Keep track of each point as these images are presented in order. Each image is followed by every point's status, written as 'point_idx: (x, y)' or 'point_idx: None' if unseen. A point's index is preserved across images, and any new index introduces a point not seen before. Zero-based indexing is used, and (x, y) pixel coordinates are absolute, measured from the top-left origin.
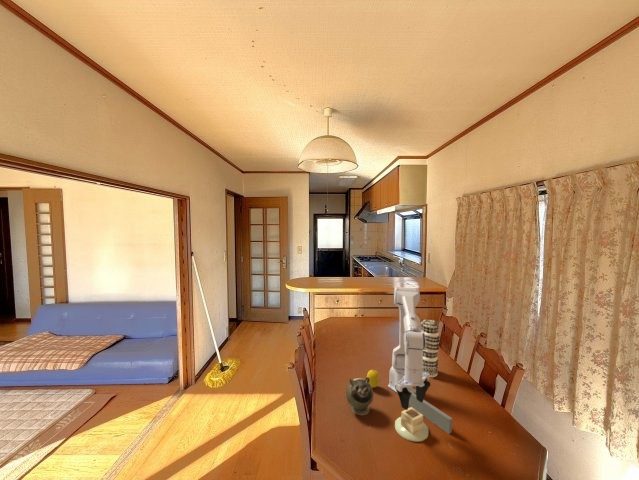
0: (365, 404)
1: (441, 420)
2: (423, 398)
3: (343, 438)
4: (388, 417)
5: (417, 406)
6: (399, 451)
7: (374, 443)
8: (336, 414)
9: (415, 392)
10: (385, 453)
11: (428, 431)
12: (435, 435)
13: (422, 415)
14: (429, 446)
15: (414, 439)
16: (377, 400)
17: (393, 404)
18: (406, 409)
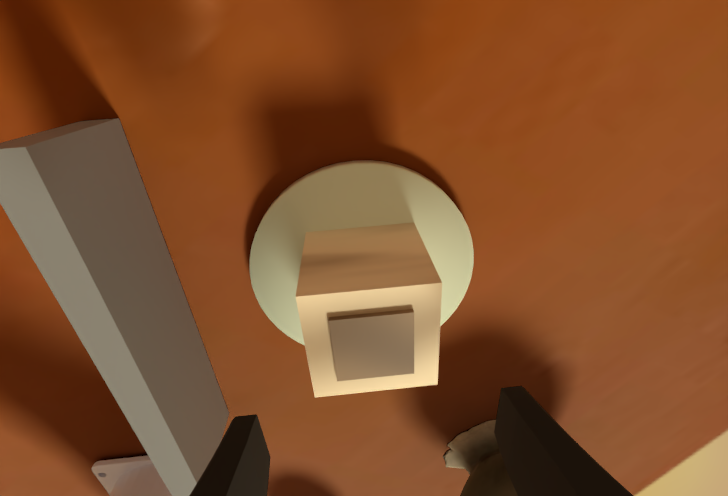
0: None
1: (109, 215)
2: (219, 463)
3: (719, 346)
4: None
5: (196, 384)
6: (584, 162)
7: (639, 268)
8: (608, 452)
9: (110, 460)
10: (662, 188)
11: (279, 198)
12: (241, 157)
13: (303, 296)
14: (370, 97)
15: (435, 186)
16: (368, 467)
17: (309, 429)
18: (527, 392)
